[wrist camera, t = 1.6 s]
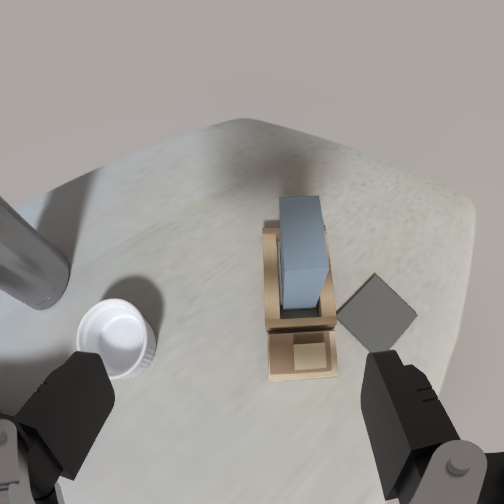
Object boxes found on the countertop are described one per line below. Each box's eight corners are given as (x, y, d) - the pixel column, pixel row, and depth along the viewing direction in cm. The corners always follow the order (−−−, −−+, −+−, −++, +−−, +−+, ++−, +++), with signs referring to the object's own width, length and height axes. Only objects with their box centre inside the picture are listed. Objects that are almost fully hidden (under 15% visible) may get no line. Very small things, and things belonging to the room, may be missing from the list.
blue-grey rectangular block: (314, 308, 34) (329, 268, 24) (283, 310, 34) (284, 270, 25) (309, 251, 37) (318, 195, 28) (280, 253, 38) (279, 197, 28)
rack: (337, 376, 31) (344, 373, 27) (267, 381, 31) (266, 378, 28) (323, 233, 38) (326, 217, 35) (263, 236, 39) (261, 220, 36)
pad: (334, 316, 34) (335, 315, 33) (374, 275, 35) (375, 274, 35) (378, 360, 31) (379, 360, 30) (416, 316, 33) (417, 315, 32)
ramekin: (149, 299, 36) (135, 286, 32) (171, 369, 32) (157, 364, 29) (89, 323, 35) (70, 312, 32) (105, 391, 31) (85, 387, 28)
